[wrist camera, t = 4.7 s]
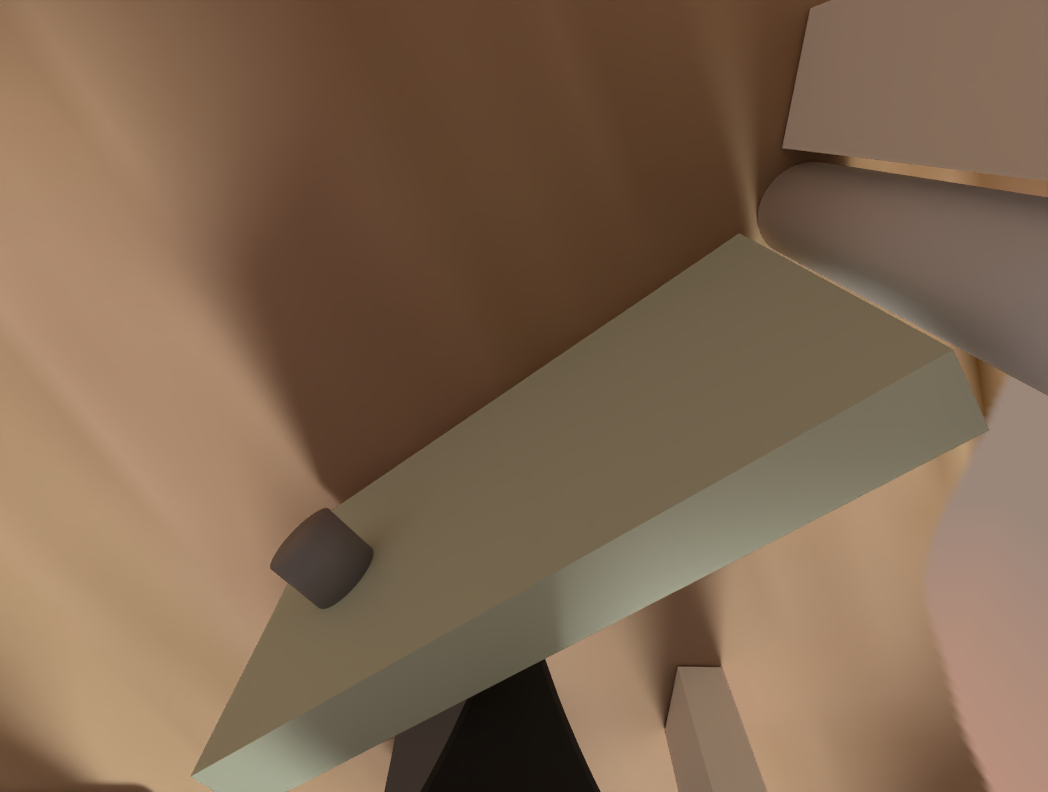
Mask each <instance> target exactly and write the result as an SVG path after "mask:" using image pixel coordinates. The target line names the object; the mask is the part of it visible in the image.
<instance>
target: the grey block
mask: <svg viewBox="0 0 1048 792" xmlns="http://www.w3.org/2000/svg"><path fill="white" fill-rule="evenodd" d="M466 700H467V699H466ZM466 700H464V701H462V702H460V703H458V704H456V705H454V706H452V707H450V708H448V709H446V710H444V711H442V712H440V713H438V714H437V715H435V716H433V717H431V718H429V719H427V720H425V721H423V722H421V723H419V724H417V725H415V726H413V727H411V728H409V729H407V730H405V731H403V732H402V733H400V734H398V735H396V738H395V743H394V748H393V752H392V757H391V762H390V767H389V772H388V777H387V781H386V786H385V791H384V792H420V791H421V789H422V788H423V786H424V784H425V782H426V780H427V778H428V777H429V775H430V773H431V771H432V769H433V767H434V766H435V764H436V762H437V760H438V758H439V756H440V754H441V752H442V750H443V748H444V746H445V744H446V742H447V740H448V738H449V736H450V734H451V732H452V730H453V728H454V726H455V723H456V721H457V719H458V717H459V715H460V713H461V710H462V708H463V706H464V704H465V702H466Z"/></svg>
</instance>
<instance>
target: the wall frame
mask: <svg viewBox="0 0 1048 792" xmlns="http://www.w3.org/2000/svg"><path fill="white" fill-rule="evenodd" d="M782 148H785V149H793V150H801V151H809V152H817V153H826V154H834V155H842V156H850V157H858V158H866V159H874V160H882V161H890V162H898V163H906V164H914V165H922V166H930V167H938V168H946V169H955V170H963V171H971V172H979V173H987V174H995V175H1003V176H1011V177H1019V178H1027V179H1035V180H1043V181H1048V0H830V1H828V2H825V3H822V4H820V5H817V6H814V7H812V8H810V12H809V17H808V22H807V27H806V32H805V37H804V42H803V47H802V52H801V57H800V62H799V67H798V72H797V77H796V82H795V87H794V92H793V96H792V101H791V106H790V111H789V116H788V121H787V126H786V131H785V136H784V141H783V146H782ZM758 226H759V230H760V233H761V235H762V237H763V239H764V240H765V242H766V243H767V244H768V245H769V246H770V247H771V248H773V249H774V250H776V251H778V252H780V253H781V254H783V255H785V256H787V257H789V258H791V259H793V260H795V261H796V262H798V263H800V264H802V265H804V266H806V267H808V268H810V269H811V270H813V271H815V272H817V273H819V274H821V275H823V276H825V277H826V278H828V279H830V280H832V281H834V282H836V283H838V284H840V285H841V286H843V287H845V288H847V289H849V290H851V291H853V292H855V293H856V294H858V295H860V296H862V297H864V298H866V299H868V300H870V301H871V302H873V303H875V304H877V305H879V306H881V307H883V308H885V309H886V310H888V311H890V312H892V313H894V314H896V315H898V316H900V317H901V318H903V319H905V320H907V321H909V322H911V323H913V324H915V325H917V326H918V327H920V328H922V329H924V330H926V331H928V332H930V333H932V334H933V335H935V336H937V337H939V338H941V339H943V340H945V341H947V342H948V343H950V344H952V345H954V346H956V347H958V348H960V349H962V350H963V351H965V352H967V353H969V354H971V355H973V356H975V357H977V358H978V359H980V360H982V361H984V362H986V363H988V364H990V365H992V366H993V367H995V368H997V369H999V370H1001V371H1003V372H1005V373H1007V374H1008V375H1010V376H1012V377H1014V378H1016V379H1018V380H1020V381H1022V382H1023V383H1025V384H1027V385H1029V386H1031V387H1033V388H1035V389H1037V390H1038V391H1040V392H1042V393H1044V394H1046V395H1048V197H1041V196H1035V195H1029V194H1022V193H1016V192H1009V191H1003V190H996V189H990V188H984V187H977V186H971V185H964V184H958V183H951V182H945V181H938V180H932V179H926V178H919V177H913V176H906V175H900V174H893V173H887V172H881V171H874V170H868V169H861V168H855V167H848V166H842V165H835V164H829V163H823V162H805V163H800V164H797V165H795V166H792V167H790V168H788V169H787V170H785V171H784V172H782V173H781V174H780V175H778V176H777V177H776V178H775V179H774V180H773V181H772V183H771V184H770V185H769V187H768V188H767V190H766V191H765V193H764V195H763V197H762V199H761V202H760V206H759V210H758ZM665 734H666V738H667V743H668V747H669V752H670V756H671V760H672V765H673V769H674V773H675V778H676V782H677V786H678V791H679V792H767V790H766V787H765V784H764V781H763V779H762V776H761V773H760V770H759V768H758V765H757V762H756V759H755V757H754V754H753V751H752V748H751V745H750V743H749V740H748V737H747V734H746V732H745V729H744V726H743V723H742V720H741V718H740V715H739V712H738V709H737V707H736V704H735V701H734V698H733V695H732V693H731V690H730V687H729V684H728V682H727V679H726V676H725V673H724V671H723V668H722V667H678V668H677V673H676V678H675V683H674V688H673V693H672V698H671V703H670V708H669V713H668V718H667V723H666V728H665Z"/></svg>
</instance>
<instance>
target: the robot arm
mask: <svg viewBox="0 0 1048 792" xmlns="http://www.w3.org/2000/svg"><path fill="white" fill-rule="evenodd" d="M420 792H600V790H599V788H598V786H597V784H596V782H595V780H594V778H593V776H592V773H591V771H590V769H589V767H588V765H587V763H586V761H585V758H584V756H583V754H582V752H581V750H580V747H579V745H578V743H577V740H576V738H575V736H574V733H573V731H572V729H571V726H570V724H569V722H568V719H567V717H566V714H565V712H564V709H563V707H562V704H561V702H560V699H559V697H558V694H557V691H556V688H555V686H554V683H553V680H552V677H551V674H550V672H549V669H548V666H547V663H546V660H545V659H543V660H541V661H540V662H538V663H536V664H534V665H532V666H530V667H528V668H526V669H524V670H522V671H520V672H518V673H516V674H514V675H512V676H510V677H508V678H506V679H505V680H503V681H501V682H499V683H497V684H495V685H493V686H491V687H489V688H487V689H485V690H483V691H481V692H479V693H477V694H475V695H473V696H472V697H470V698H468V699H467V700H466V702H465V704H464V706H463V708H462V710H461V713H460V715H459V717H458V719H457V721H456V723H455V726H454V728H453V730H452V732H451V734H450V736H449V738H448V740H447V742H446V744H445V746H444V748H443V750H442V752H441V754H440V756H439V758H438V760H437V762H436V764H435V766H434V767H433V769H432V771H431V773H430V775H429V777H428V778H427V780H426V782H425V784H424V786H423V788H422V789H421V791H420Z"/></svg>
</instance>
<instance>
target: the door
mask: <svg viewBox="0 0 1048 792" xmlns="http://www.w3.org/2000/svg"><path fill="white" fill-rule="evenodd" d="M988 430H989V428H988V426H987V424H986V422H985V419H984V417H983V415H982V413H981V410H980V408H979V406H978V404H977V401H976V399H975V397H974V395H973V392H972V390H971V388H970V386H969V384H968V381H967V379H966V377H965V375H964V372H963V370H962V368H961V366H960V363H959V361H958V359H957V357H956V354H955V352H954V350H953V349H951V348H950V347H948V346H946V345H944V344H942V343H940V342H939V341H937V340H935V339H933V338H931V337H929V336H928V335H926V334H924V333H922V332H920V331H918V330H917V329H915V328H913V327H911V326H909V325H907V324H905V323H904V322H902V321H900V320H898V319H896V318H894V317H893V316H891V315H889V314H887V313H885V312H883V311H882V310H880V309H878V308H876V307H874V306H872V305H870V304H869V303H867V302H865V301H863V300H861V299H859V298H858V297H856V296H854V295H852V294H850V293H848V292H847V291H845V290H843V289H841V288H839V287H837V286H836V285H834V284H832V283H830V282H828V281H826V280H824V279H823V278H821V277H819V276H817V275H815V274H813V273H812V272H810V271H808V270H806V269H804V268H802V267H801V266H799V265H797V264H795V263H793V262H791V261H790V260H788V259H786V258H784V257H782V256H780V255H778V254H777V253H775V252H773V251H771V250H769V249H767V248H766V247H764V246H762V245H760V244H758V243H756V242H755V241H753V240H751V239H749V238H747V237H745V236H743V235H742V234H740V233H739V234H737V235H736V236H734V237H733V238H731V239H730V240H728V241H727V242H726V243H724V244H723V245H721V246H720V247H718V248H717V249H715V250H714V251H712V252H711V253H709V254H708V255H706V256H705V257H703V258H702V259H700V260H699V261H698V262H696V263H695V264H693V265H692V266H690V267H689V268H687V269H686V270H684V271H683V272H681V273H680V274H678V275H677V276H675V277H674V278H673V279H671V280H670V281H668V282H667V283H665V284H664V285H662V286H661V287H659V288H658V289H656V290H655V291H653V292H652V293H650V294H649V295H648V296H646V297H645V298H643V299H642V300H640V301H639V302H637V303H636V304H634V305H633V306H631V307H630V308H628V309H627V310H625V311H624V312H623V313H621V314H620V315H618V316H617V317H615V318H614V319H612V320H611V321H609V322H608V323H606V324H605V325H603V326H602V327H600V328H599V329H598V330H596V331H595V332H593V333H592V334H590V335H589V336H587V337H586V338H584V339H583V340H581V341H580V342H578V343H577V344H575V345H574V346H573V347H571V348H570V349H568V350H567V351H565V352H564V353H562V354H561V355H559V356H558V357H556V358H555V359H553V360H552V361H550V362H549V363H548V364H546V365H545V366H543V367H542V368H540V369H539V370H537V371H536V372H534V373H533V374H531V375H530V376H528V377H527V378H525V379H524V380H523V381H521V382H520V383H518V384H517V385H515V386H514V387H512V388H511V389H509V390H508V391H506V392H505V393H503V394H502V395H500V396H499V397H498V398H496V399H495V400H493V401H492V402H490V403H489V404H487V405H486V406H484V407H483V408H481V409H480V410H478V411H477V412H475V413H474V414H473V415H471V416H470V417H468V418H467V419H465V420H464V421H462V422H461V423H459V424H458V425H456V426H455V427H453V428H452V429H450V430H449V431H447V432H446V433H445V434H443V435H442V436H440V437H439V438H437V439H436V440H434V441H433V442H431V443H430V444H428V445H427V446H425V447H424V448H422V449H421V450H420V451H418V452H417V453H415V454H414V455H412V456H411V457H409V458H408V459H406V460H405V461H403V462H402V463H400V464H399V465H397V466H396V467H395V468H393V469H392V470H390V471H389V472H387V473H386V474H384V475H383V476H381V477H380V478H378V479H377V480H375V481H374V482H372V483H371V484H370V485H368V486H367V487H365V488H364V489H362V490H361V491H359V492H358V493H356V494H355V495H353V496H352V497H350V498H349V499H347V500H346V501H345V502H343V503H342V504H340V505H339V506H337V507H336V508H334V509H333V510H330V509H328V508H324V509H321V510H319V511H317V512H316V513H314V514H313V515H311V516H310V517H309V518H307V519H306V520H305V521H304V522H303V523H301V524H300V525H299V526H298V527H297V528H296V529H295V530H294V531H293V532H292V533H291V534H290V535H289V537H288V538H287V539H286V540H285V541H284V542H283V544H282V545H281V546H280V548H279V549H278V551H277V552H276V554H275V555H274V557H273V559H272V562H271V565H270V567H271V569H272V570H273V571H274V572H275V573H276V574H278V575H279V576H280V577H281V578H283V579H284V580H285V581H286V582H287V583H288V584H287V586H286V588H285V590H284V592H283V594H282V596H281V598H280V600H279V602H278V604H277V606H276V608H275V610H274V612H273V614H272V616H271V618H270V620H269V622H268V624H267V626H266V628H265V630H264V632H263V634H262V636H261V638H260V640H259V642H258V644H257V646H256V648H255V650H254V652H253V654H252V656H251V658H250V660H249V662H248V664H247V665H246V667H245V669H244V671H243V673H242V675H241V677H240V679H239V681H238V683H237V685H236V687H235V689H234V691H233V693H232V695H231V697H230V699H229V701H228V703H227V705H226V707H225V709H224V711H223V713H222V715H221V717H220V719H219V721H218V723H217V725H216V727H215V729H214V731H213V733H212V735H211V737H210V739H209V741H208V743H207V745H206V747H205V749H204V751H203V753H202V755H201V757H200V759H199V761H198V763H197V765H196V767H195V769H194V771H193V773H192V775H191V777H192V778H193V779H195V780H197V781H198V782H200V783H202V784H203V785H205V786H207V787H208V788H210V789H212V790H213V791H215V792H287V791H289V790H291V789H293V788H295V787H297V786H299V785H301V784H302V783H304V782H306V781H308V780H310V779H312V778H314V777H316V776H318V775H320V774H322V773H324V772H326V771H328V770H330V769H332V768H334V767H335V766H337V765H339V764H341V763H343V762H345V761H347V760H349V759H351V758H353V757H355V756H357V755H359V754H361V753H363V752H365V751H367V750H369V749H370V748H372V747H374V746H376V745H378V744H380V743H382V742H384V741H386V740H388V739H390V738H392V737H394V736H396V735H398V734H400V733H402V732H403V731H405V730H407V729H409V728H411V727H413V726H415V725H417V724H419V723H421V722H423V721H425V720H427V719H429V718H431V717H433V716H435V715H437V714H438V713H440V712H442V711H444V710H446V709H448V708H450V707H452V706H454V705H456V704H458V703H460V702H462V701H464V700H466V699H468V698H470V697H472V696H473V695H475V694H477V693H479V692H481V691H483V690H485V689H487V688H489V687H491V686H493V685H495V684H497V683H499V682H501V681H503V680H505V679H506V678H508V677H510V676H512V675H514V674H516V673H518V672H520V671H522V670H524V669H526V668H528V667H530V666H532V665H534V664H536V663H538V662H540V661H541V660H543V659H545V658H547V657H549V656H551V655H553V654H555V653H557V652H559V651H561V650H563V649H565V648H567V647H569V646H571V645H573V644H574V643H576V642H578V641H580V640H582V639H584V638H586V637H588V636H590V635H592V634H594V633H596V632H598V631H600V630H602V629H604V628H606V627H608V626H609V625H611V624H613V623H615V622H617V621H619V620H621V619H623V618H625V617H627V616H629V615H631V614H633V613H635V612H637V611H639V610H641V609H643V608H644V607H646V606H648V605H650V604H652V603H654V602H656V601H658V600H660V599H662V598H664V597H666V596H668V595H670V594H672V593H674V592H676V591H677V590H679V589H681V588H683V587H685V586H687V585H689V584H691V583H693V582H695V581H697V580H699V579H701V578H703V577H705V576H707V575H709V574H711V573H712V572H714V571H716V570H718V569H720V568H722V567H724V566H726V565H728V564H730V563H732V562H734V561H736V560H738V559H740V558H742V557H744V556H745V555H747V554H749V553H751V552H753V551H755V550H757V549H759V548H761V547H763V546H765V545H767V544H769V543H771V542H773V541H775V540H777V539H779V538H780V537H782V536H784V535H786V534H788V533H790V532H792V531H794V530H796V529H798V528H800V527H802V526H804V525H806V524H808V523H810V522H812V521H814V520H815V519H817V518H819V517H821V516H823V515H825V514H827V513H829V512H831V511H833V510H835V509H837V508H839V507H841V506H843V505H845V504H847V503H848V502H850V501H852V500H854V499H856V498H858V497H860V496H862V495H864V494H866V493H868V492H870V491H872V490H874V489H876V488H878V487H880V486H882V485H883V484H885V483H887V482H889V481H891V480H893V479H895V478H897V477H899V476H901V475H903V474H905V473H907V472H909V471H911V470H913V469H915V468H916V467H918V466H920V465H922V464H924V463H926V462H928V461H930V460H932V459H934V458H936V457H938V456H940V455H942V454H944V453H946V452H948V451H950V450H951V449H953V448H955V447H957V446H959V445H961V444H963V443H965V442H967V441H969V440H971V439H973V438H975V437H977V436H979V435H981V434H983V433H985V432H986V431H988Z"/></svg>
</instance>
